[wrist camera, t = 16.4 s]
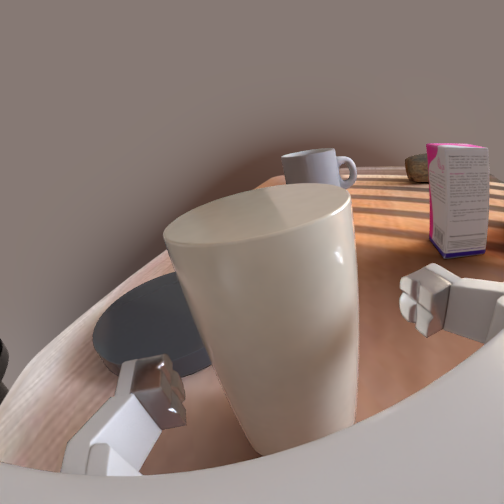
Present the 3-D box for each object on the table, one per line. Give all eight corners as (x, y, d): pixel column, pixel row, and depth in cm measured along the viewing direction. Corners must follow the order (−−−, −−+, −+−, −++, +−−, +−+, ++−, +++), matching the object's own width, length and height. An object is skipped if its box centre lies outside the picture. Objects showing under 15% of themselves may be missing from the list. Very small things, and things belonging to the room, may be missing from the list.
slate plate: (128, 415, 16) (115, 399, 15) (89, 327, 28) (82, 314, 27) (292, 308, 24) (289, 290, 24) (201, 269, 37) (197, 256, 36)
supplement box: (487, 254, 23) (489, 147, 19) (443, 259, 25) (441, 147, 21) (467, 234, 28) (465, 141, 24) (427, 238, 30) (422, 142, 26)
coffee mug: (287, 215, 50) (276, 159, 47) (294, 200, 59) (285, 153, 55) (362, 207, 46) (355, 148, 42) (358, 193, 54) (351, 144, 51)
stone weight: (459, 177, 53) (457, 149, 50) (470, 183, 47) (468, 153, 44) (404, 180, 58) (401, 152, 55) (411, 187, 52) (408, 155, 49)
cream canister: (300, 486, 10) (236, 264, 5) (222, 421, 15) (138, 230, 10) (377, 403, 13) (383, 184, 9) (297, 363, 18) (261, 183, 14)
